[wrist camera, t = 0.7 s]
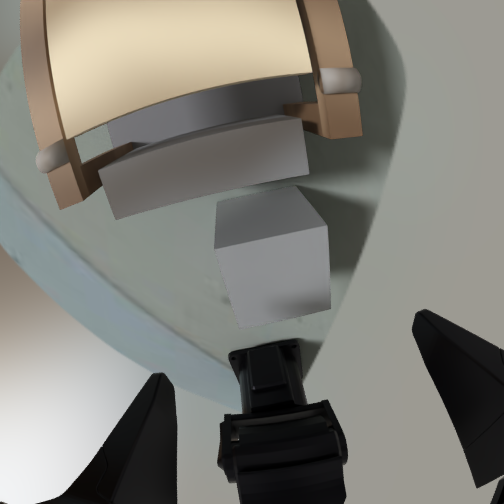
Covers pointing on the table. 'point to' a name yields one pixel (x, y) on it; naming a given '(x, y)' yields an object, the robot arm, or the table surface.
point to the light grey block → (273, 256)
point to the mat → (205, 110)
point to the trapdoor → (178, 89)
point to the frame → (86, 174)
